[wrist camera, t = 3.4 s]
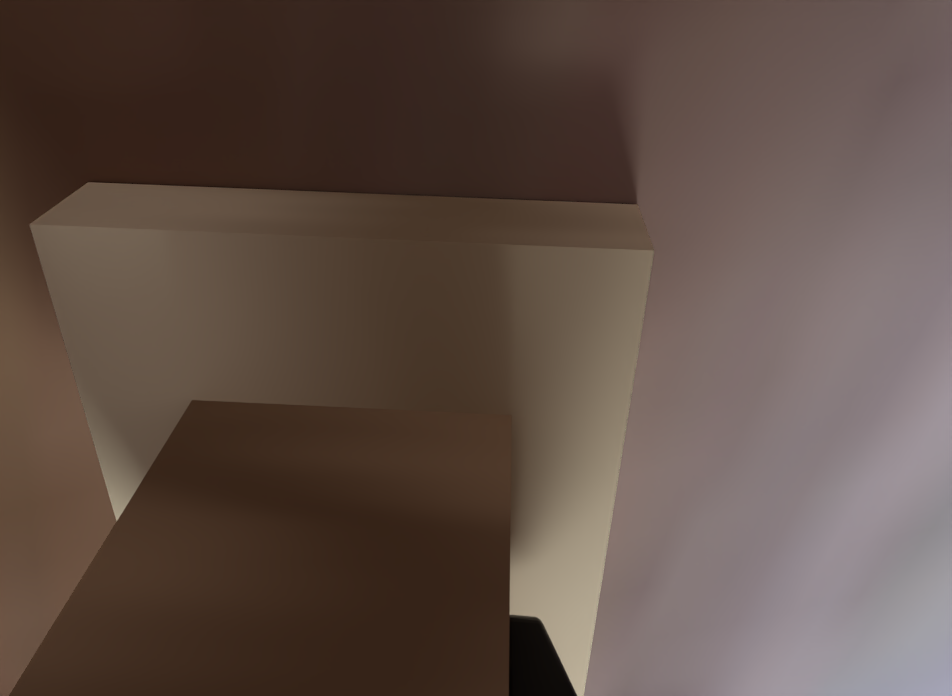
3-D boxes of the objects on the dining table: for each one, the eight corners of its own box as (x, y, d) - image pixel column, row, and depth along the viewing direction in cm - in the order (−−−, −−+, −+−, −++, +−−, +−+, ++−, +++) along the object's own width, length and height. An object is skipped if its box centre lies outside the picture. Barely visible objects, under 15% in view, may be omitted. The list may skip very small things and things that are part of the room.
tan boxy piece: (212, 691, 13) (58, 1105, 9) (88, 182, 8) (-382, 517, 4) (565, 712, 13) (590, 1142, 9) (637, 203, 8) (775, 577, 4)
